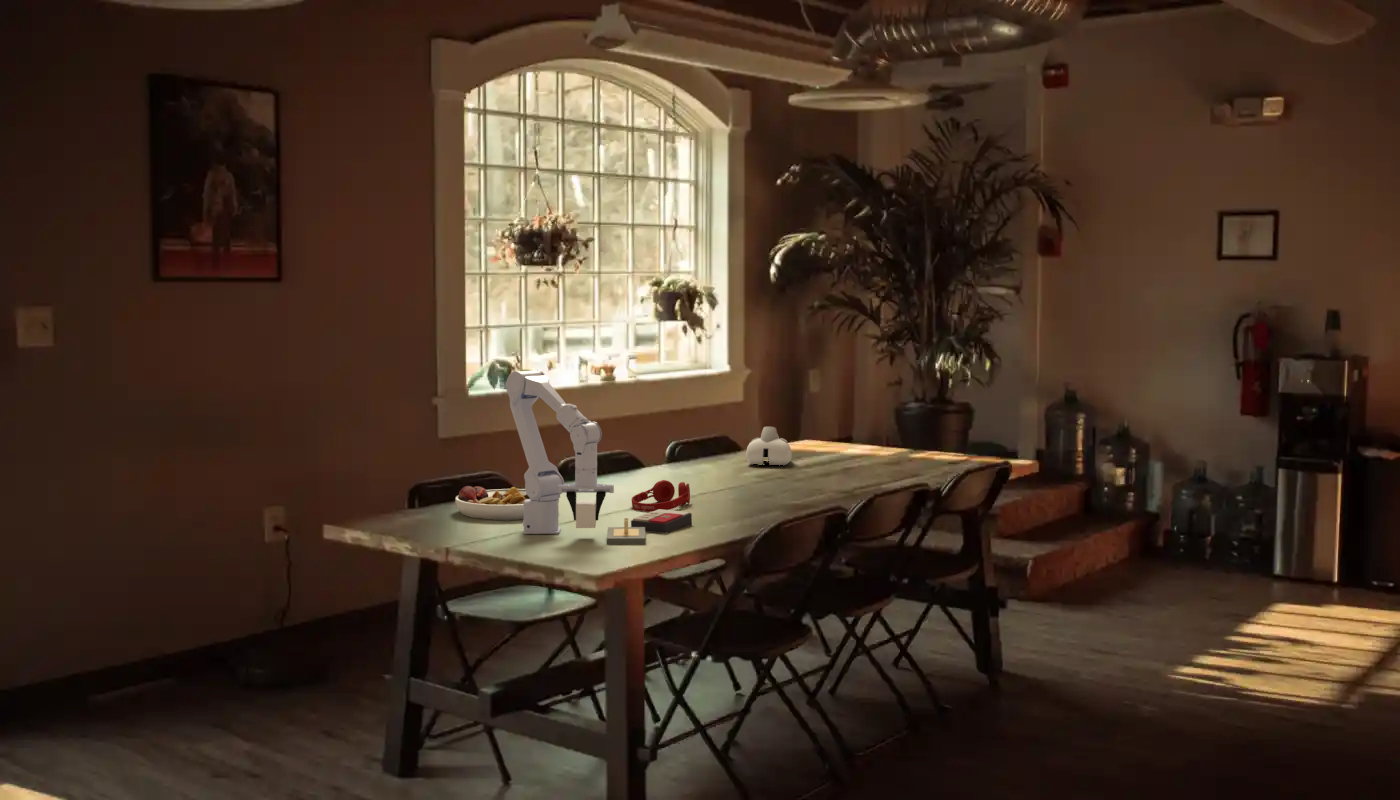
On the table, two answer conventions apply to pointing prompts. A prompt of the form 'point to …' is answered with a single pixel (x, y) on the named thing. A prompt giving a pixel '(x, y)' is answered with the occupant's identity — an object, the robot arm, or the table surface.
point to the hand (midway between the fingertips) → (586, 519)
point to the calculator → (663, 521)
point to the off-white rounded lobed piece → (769, 448)
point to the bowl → (492, 503)
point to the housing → (586, 514)
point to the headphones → (662, 497)
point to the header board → (626, 534)
